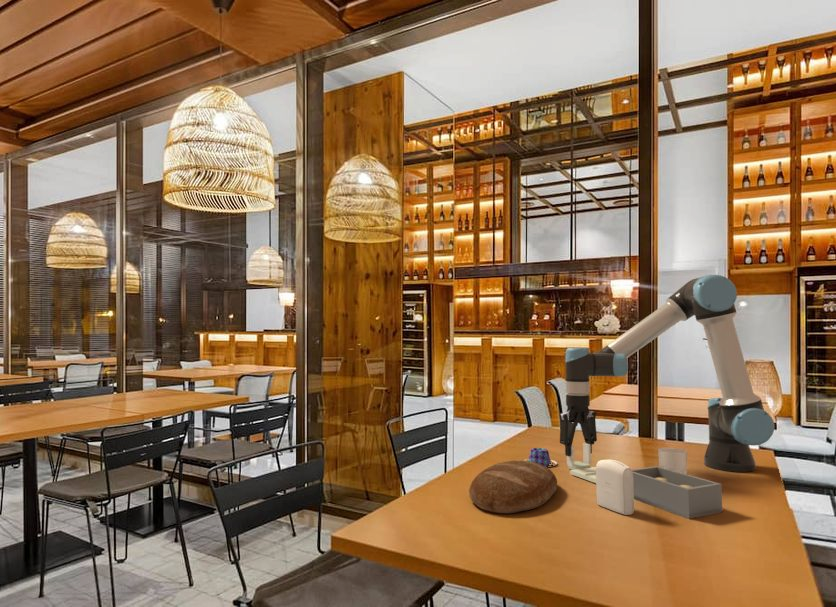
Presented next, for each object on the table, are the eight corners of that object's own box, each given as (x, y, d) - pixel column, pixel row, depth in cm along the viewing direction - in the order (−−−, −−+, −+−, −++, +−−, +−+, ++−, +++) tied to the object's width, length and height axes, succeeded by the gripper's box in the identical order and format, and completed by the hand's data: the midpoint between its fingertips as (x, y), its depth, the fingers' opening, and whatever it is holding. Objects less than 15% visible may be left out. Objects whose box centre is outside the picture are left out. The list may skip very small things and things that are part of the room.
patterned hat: (560, 462, 188) (560, 447, 188) (553, 470, 177) (552, 454, 178) (526, 459, 194) (526, 444, 194) (517, 466, 183) (517, 451, 183)
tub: (657, 490, 154) (656, 466, 154) (722, 512, 136) (721, 483, 136) (626, 496, 149) (625, 470, 149) (689, 518, 131) (688, 489, 131)
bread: (452, 509, 139) (452, 476, 140) (498, 475, 172) (498, 448, 172) (536, 522, 129) (535, 487, 129) (568, 483, 162) (567, 455, 162)
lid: (587, 468, 181) (587, 459, 182) (651, 489, 157) (651, 479, 157) (557, 472, 176) (557, 463, 176) (618, 495, 152) (618, 484, 152)
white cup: (691, 488, 156) (690, 453, 156) (662, 487, 157) (661, 452, 158) (683, 481, 164) (682, 448, 164) (656, 479, 165) (655, 447, 166)
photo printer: (594, 504, 141) (593, 457, 142) (606, 502, 143) (605, 455, 144) (624, 516, 132) (623, 466, 133) (637, 514, 134) (635, 464, 135)
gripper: (592, 391, 185) (593, 459, 184) (547, 394, 177) (548, 465, 176) (608, 393, 178) (609, 464, 177) (562, 396, 170) (563, 470, 169)
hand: (578, 464), depth 176 cm, fingers open, 6 cm apart
